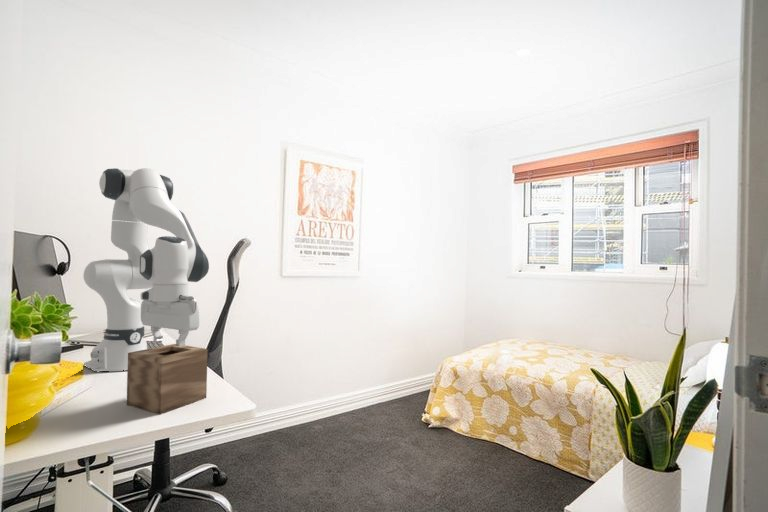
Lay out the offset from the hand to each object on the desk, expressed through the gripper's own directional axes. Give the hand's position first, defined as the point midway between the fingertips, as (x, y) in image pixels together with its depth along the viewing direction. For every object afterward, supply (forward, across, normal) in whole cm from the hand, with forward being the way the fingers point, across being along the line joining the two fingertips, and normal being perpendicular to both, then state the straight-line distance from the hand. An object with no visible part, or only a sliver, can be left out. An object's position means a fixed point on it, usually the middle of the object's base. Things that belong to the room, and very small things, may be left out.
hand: (169, 344), depth 112 cm
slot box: (+16, 0, 0) cm, 16 cm away
